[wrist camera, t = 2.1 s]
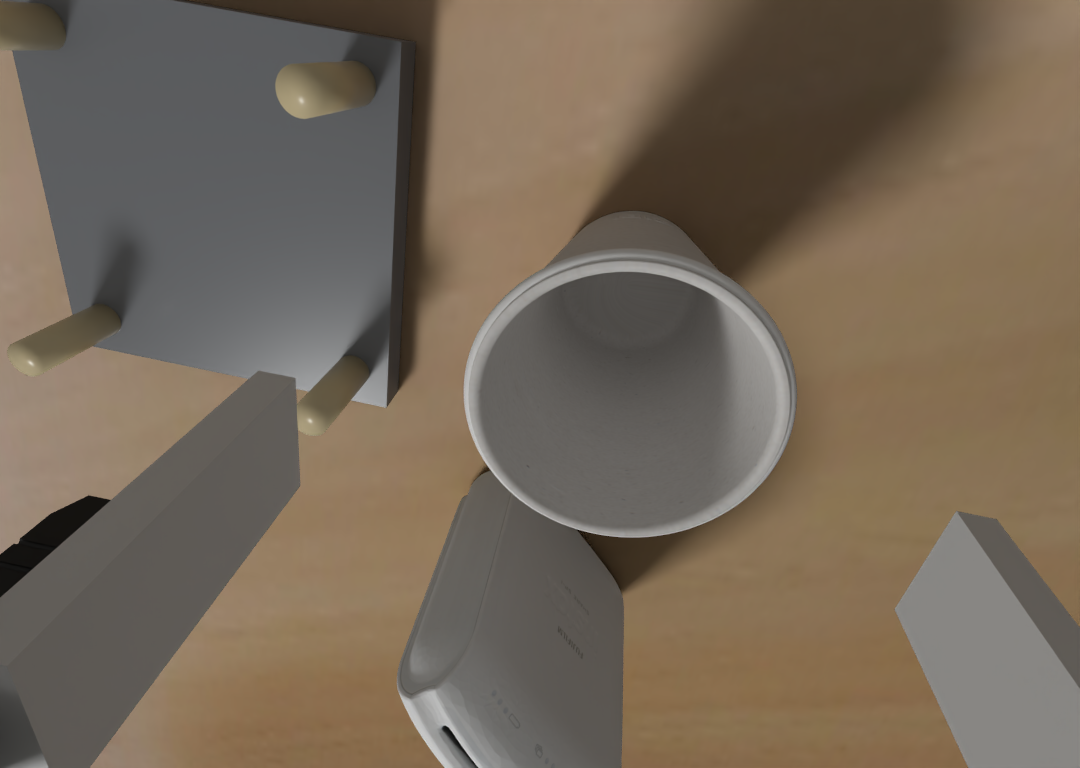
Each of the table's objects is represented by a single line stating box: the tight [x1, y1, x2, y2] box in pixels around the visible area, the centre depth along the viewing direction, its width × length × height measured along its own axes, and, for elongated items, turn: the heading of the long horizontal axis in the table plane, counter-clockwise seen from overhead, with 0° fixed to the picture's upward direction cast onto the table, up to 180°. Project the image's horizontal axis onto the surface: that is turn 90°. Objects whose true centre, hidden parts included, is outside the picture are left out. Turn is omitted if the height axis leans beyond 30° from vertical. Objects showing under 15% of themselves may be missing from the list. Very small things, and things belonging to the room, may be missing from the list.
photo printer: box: [397, 471, 624, 768], centre depth 26 cm, size 10×4×12 cm, turn 35°
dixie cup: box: [464, 211, 797, 537], centre depth 20 cm, size 8×8×10 cm
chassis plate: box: [0, 0, 416, 436], centre depth 23 cm, size 14×14×6 cm
